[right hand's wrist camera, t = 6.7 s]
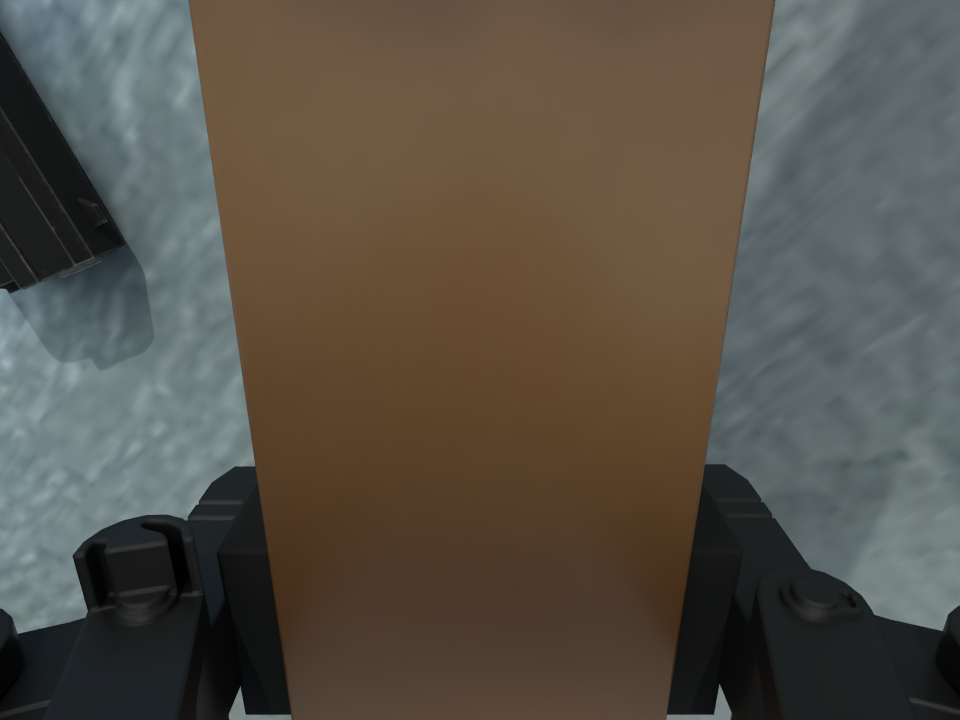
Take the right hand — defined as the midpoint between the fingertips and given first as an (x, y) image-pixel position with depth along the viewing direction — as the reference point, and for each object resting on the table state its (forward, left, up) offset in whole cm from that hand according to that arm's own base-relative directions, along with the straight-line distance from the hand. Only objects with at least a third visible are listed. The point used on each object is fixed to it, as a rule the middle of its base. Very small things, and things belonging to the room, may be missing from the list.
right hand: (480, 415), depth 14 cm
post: (+18, +20, -1) cm, 27 cm away
